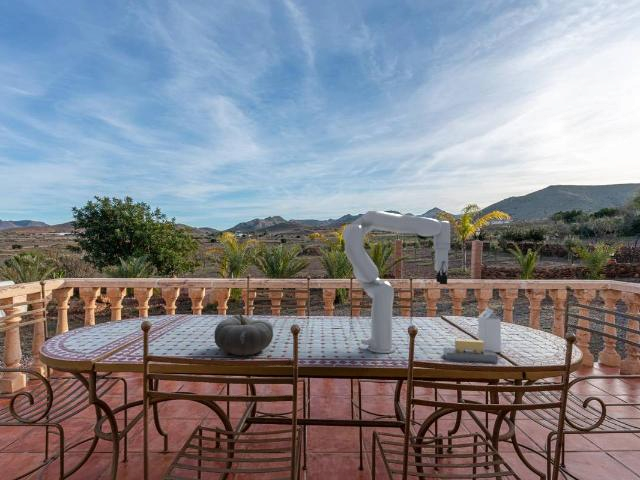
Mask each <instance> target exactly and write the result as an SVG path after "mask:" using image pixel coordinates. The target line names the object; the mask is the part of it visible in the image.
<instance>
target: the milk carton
mask: <svg viewBox="0 0 640 480" xmlns="http://www.w3.org/2000/svg"><path fill="white" fill-rule="evenodd" d="M477 319H478V320H477V321H478V323H477V327H478V329H477V334H478V337H477V340H480V341H483V342H484V350H492V351H493V352H494V353H501V352H502V351H501V350H502V349H501V348H502V347H501V342H502V341H501V340H502V337H501V335H502V334H501V333H502V330H501V329H502V327H501V326H502V325H501V324H502V323H501V318H500V317H499V316H497V315H496V314H495V312H494V309H490V308H487V307H486V308H485V310H483V312H481V313H480V314H479V315H478V316H477Z"/></svg>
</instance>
